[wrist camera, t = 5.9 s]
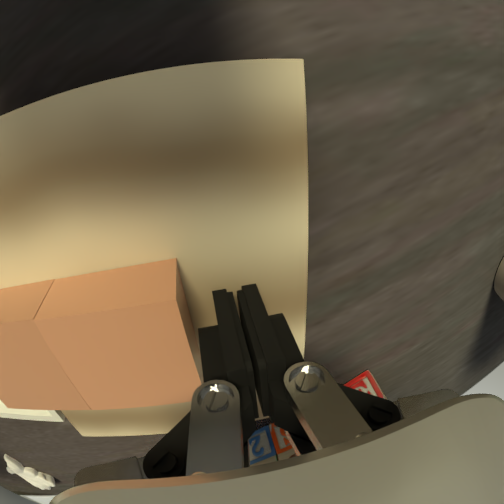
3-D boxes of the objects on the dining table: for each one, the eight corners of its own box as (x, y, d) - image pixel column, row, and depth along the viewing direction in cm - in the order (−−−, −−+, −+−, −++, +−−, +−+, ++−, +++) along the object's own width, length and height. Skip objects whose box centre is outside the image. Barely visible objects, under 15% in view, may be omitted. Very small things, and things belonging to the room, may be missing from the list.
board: (-23, 134, 9) (-61, 147, 7) (277, 66, 11) (303, 59, 9) (88, 401, 18) (82, 436, 15) (286, 375, 20) (300, 410, 17)
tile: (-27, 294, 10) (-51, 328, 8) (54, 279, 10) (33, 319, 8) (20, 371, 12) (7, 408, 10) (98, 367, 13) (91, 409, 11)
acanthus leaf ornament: (5, 449, 21) (2, 462, 20) (57, 471, 24) (56, 484, 22) (6, 466, 23) (4, 477, 22) (51, 485, 26) (50, 496, 24)
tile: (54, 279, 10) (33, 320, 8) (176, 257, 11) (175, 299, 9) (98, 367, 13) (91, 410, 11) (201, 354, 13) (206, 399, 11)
